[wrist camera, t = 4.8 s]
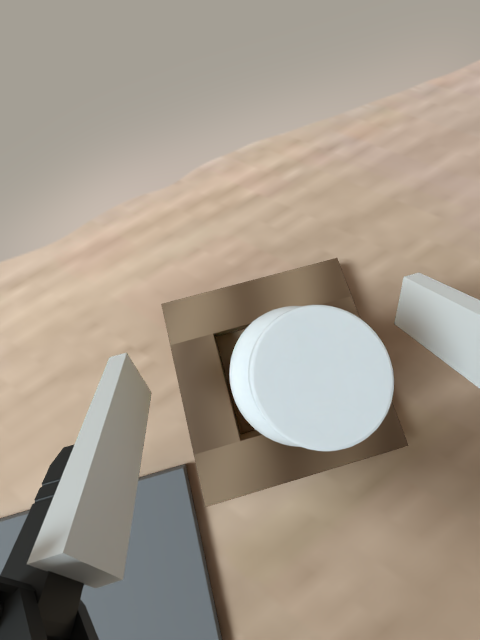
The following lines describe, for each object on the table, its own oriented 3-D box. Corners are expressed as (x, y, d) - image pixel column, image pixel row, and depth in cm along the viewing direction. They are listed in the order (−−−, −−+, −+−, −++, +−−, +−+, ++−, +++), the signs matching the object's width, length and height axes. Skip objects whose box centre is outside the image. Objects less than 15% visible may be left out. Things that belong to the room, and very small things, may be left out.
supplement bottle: (230, 334, 17) (215, 288, 7) (308, 326, 17) (397, 271, 7) (237, 416, 16) (231, 494, 6) (320, 408, 16) (445, 472, 6)
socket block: (329, 266, 17) (337, 257, 16) (393, 438, 15) (408, 445, 14) (167, 309, 17) (161, 304, 16) (208, 494, 15) (205, 507, 13)
